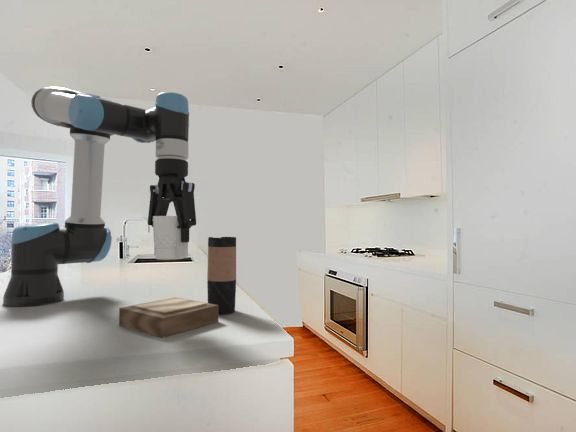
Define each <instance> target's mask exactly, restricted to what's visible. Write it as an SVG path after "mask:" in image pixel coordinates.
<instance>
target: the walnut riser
mask: <svg viewBox="0 0 576 432" xmlns="http://www.w3.org/2000/svg"><path fill="white" fill-rule="evenodd" d="M118 310H119V311H118V314H119V315H118V326H121V327H123V328H126V329H131V330H134V331H139V332H140V333H141V332H142V333H145V334H149V335H153V336H156V337H160V338H166V337H169V336H172V335H176V334H180V333H183V332H186V331H191V330H194V329H198V328H200V327H205V326H208V325H212V324H215V323H218V322H219V317H220V315H219V305H215V304H210V303H208V302H202V301H198V300H193V299H186V298H182V297H170V298H164V299H160V300H155V301H148V302H142V303H138V304H133V305H129V306H123V307H119V308H118Z"/></svg>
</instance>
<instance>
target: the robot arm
mask: <svg viewBox="0 0 576 432" xmlns="http://www.w3.org/2000/svg"><path fill="white" fill-rule="evenodd" d="M155 97H156V99H155V103H154V105H155V107H153V108H150V109H145V108H140V107H137V106H132V105H127V104H125V103H119V102H115V101H112V100H111V99H108V98H104V97H101V96H99V95H94V94H92V93H91V94H90V93H85V92H81V91H78V90H73V89H69V88H65V87H61V86H44V87H42V88H39V89H37V91H35V92H34V94H33V95H32V97H31V100H30V101H31V108H32V110H33V112H34V114H35V115H36V116H37V117H38V118H39V119H40V120H42V121H43V122H46V123H47V124H51V125H53V126H57V127H62V128H65V129H66V128H67V129H69V136H70V137H71V138H72V140H74V149H73V150H74V151H73V171H72V185H71V186H72V187H71V203H70V204H71V206H70V216H69V217H67V219H65V220H64V226H60V225H59V223H58V222H45V223H35V224H26V225H20V226H17V227H15V228H14V229H13V231H12V236H11V241H10V245H11V259H10V261H11V263H10V264H11V266H10V267H11V268H10V269H11V270H10V273H11V275H10V279H9V282H8V285H7V286H6V289H5V291H4V293H3V297H2V300H3V301H2V305H4V306H6V307H7V306H8V307H30V306H41V305H42V306H43V305H49V304H54V303H57V302H61V301H63V300H64V299H65V292H64V289H63V285H62V283H61V280H60V277H59V274H58V272H59V271H58V269H59V265H67V264H69V265H70V264H84V263H86V264H89V263H93V262H100V261H103V260H104V259H105V258H106V257H107V256H108V255H109V252H110V249H111V246H112V237H113V236H112V232H111V229H110V228H108V227H107V226H106V221H105V220H104V219H103V218H102V217H101V215H102V214H101V210H102V193H103V180H104V179H103V178H104V177H103V176H104V161H105V145H106V144H107V143H109V142H110V140H111V136H114V135H117V136H120V137H127V138H131V139H132V140H133V141H135V142H137V143H141V144H149V143H154V142H155V157H156V159H155V161H154V163H155V164H154V173H155V175H156V176H157V177H158V182H157V184H155V185H153V184H151V185H149V193H150V197H149V205H148V206H149V207H148V218H147V225H148V226H151V227H152V228H153V216H168V215H167V214H168V211H169V207H170V204H171V203H173V207H174V211H175V216H177V219H178V223H179V226H177V228H181V229H177V243H176V257H185V258H186V257H188V256H189V242H190V229H191V228H192V227H193V226H194V227H195V226H196V225H197V215H196V214H197V212H196V204H195V203H196V202H195V187H196V186H195V185H196V184H195V183H194V182H188V181H186V179H185V178H186V177H188V175H189V162H188V161H187V160H188V159H189V127H190V111H189V101H188V98H187V97H186V96H185V95H183V94H181V93H178V92H173V91H164V92H163V91H162V92H160V93H158V94H157V96H155ZM153 251H154V252H153V255H154V256H155V247H154V246H153Z"/></svg>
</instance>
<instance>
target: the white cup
mask: <svg viewBox="0 0 576 432" xmlns="http://www.w3.org/2000/svg"><path fill="white" fill-rule="evenodd" d="M177 226H179V223H178V219H177V215H166V216H153V227H152V229H153V230H152V231H153V243H154V244H153V248H154V247H155V255H154V256H155V257H154V258H155V259H156V260H161V261H162V260H163V261H164V260H167V261H169V260H171V261H172V260H182V259H185V258H186V257H176V243H177V229H181V228H177Z"/></svg>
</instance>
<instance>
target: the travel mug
mask: <svg viewBox="0 0 576 432" xmlns="http://www.w3.org/2000/svg"><path fill="white" fill-rule="evenodd" d="M206 281H207V283H206V285H207V288H206V289H207V303H210V304H215V305H219V316H223V315H231V314H234V313H235V312H236V296H237V295H236V293H237V237H236V236H221V237H213V236H208V237H207V280H206Z"/></svg>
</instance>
